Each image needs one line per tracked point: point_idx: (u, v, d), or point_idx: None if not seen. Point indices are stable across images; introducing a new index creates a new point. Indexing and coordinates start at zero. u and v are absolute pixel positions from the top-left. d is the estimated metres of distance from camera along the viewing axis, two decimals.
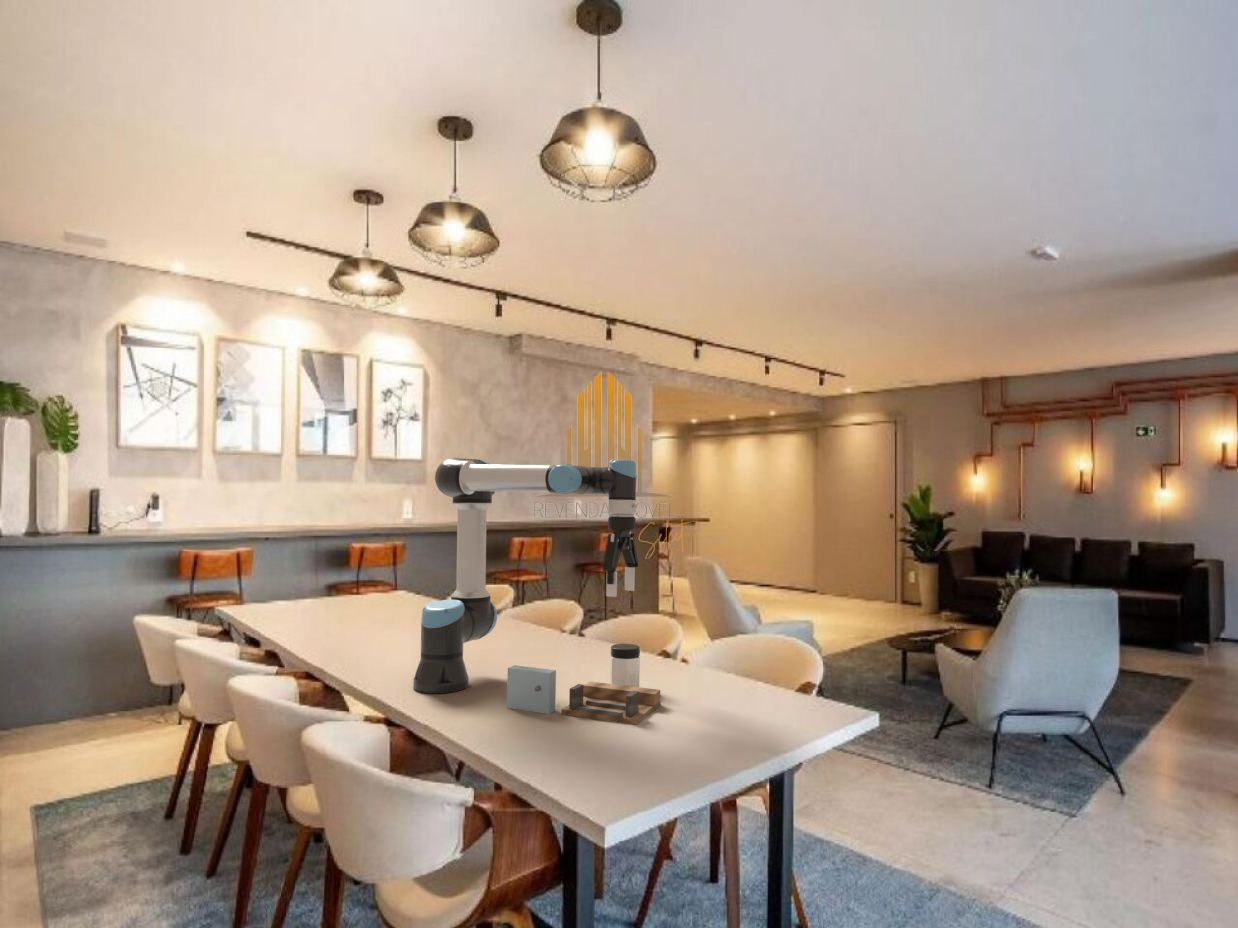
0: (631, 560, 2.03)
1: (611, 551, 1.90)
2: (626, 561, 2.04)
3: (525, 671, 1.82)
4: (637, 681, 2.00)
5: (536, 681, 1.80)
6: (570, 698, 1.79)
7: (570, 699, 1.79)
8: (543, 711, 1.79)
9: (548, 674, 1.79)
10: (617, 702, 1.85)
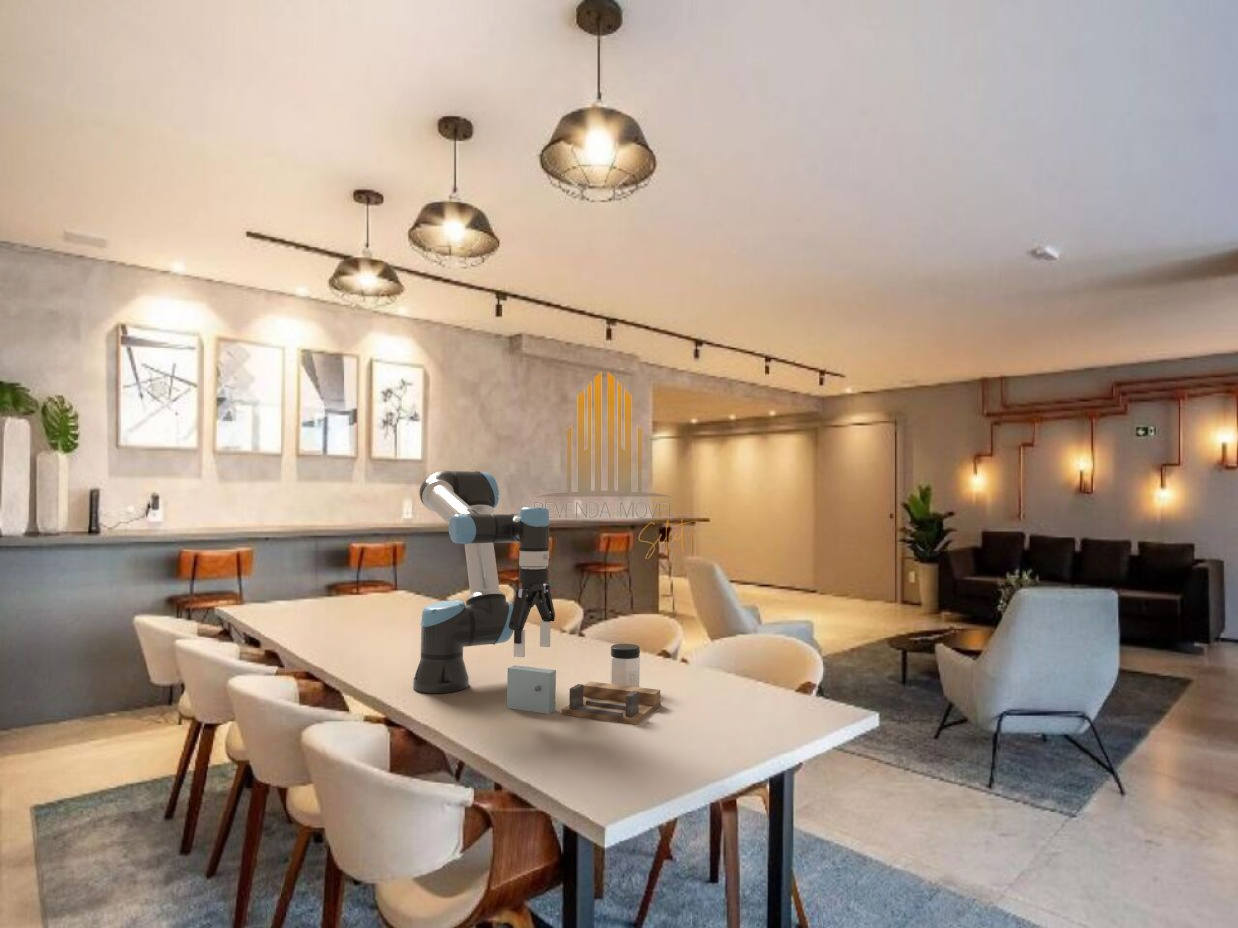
0: (546, 614, 1.89)
1: (518, 608, 1.76)
2: (541, 615, 1.89)
3: (525, 671, 1.82)
4: (637, 681, 2.00)
5: (536, 681, 1.80)
6: (570, 698, 1.79)
7: (570, 699, 1.79)
8: (543, 711, 1.79)
9: (548, 674, 1.79)
10: (617, 702, 1.85)
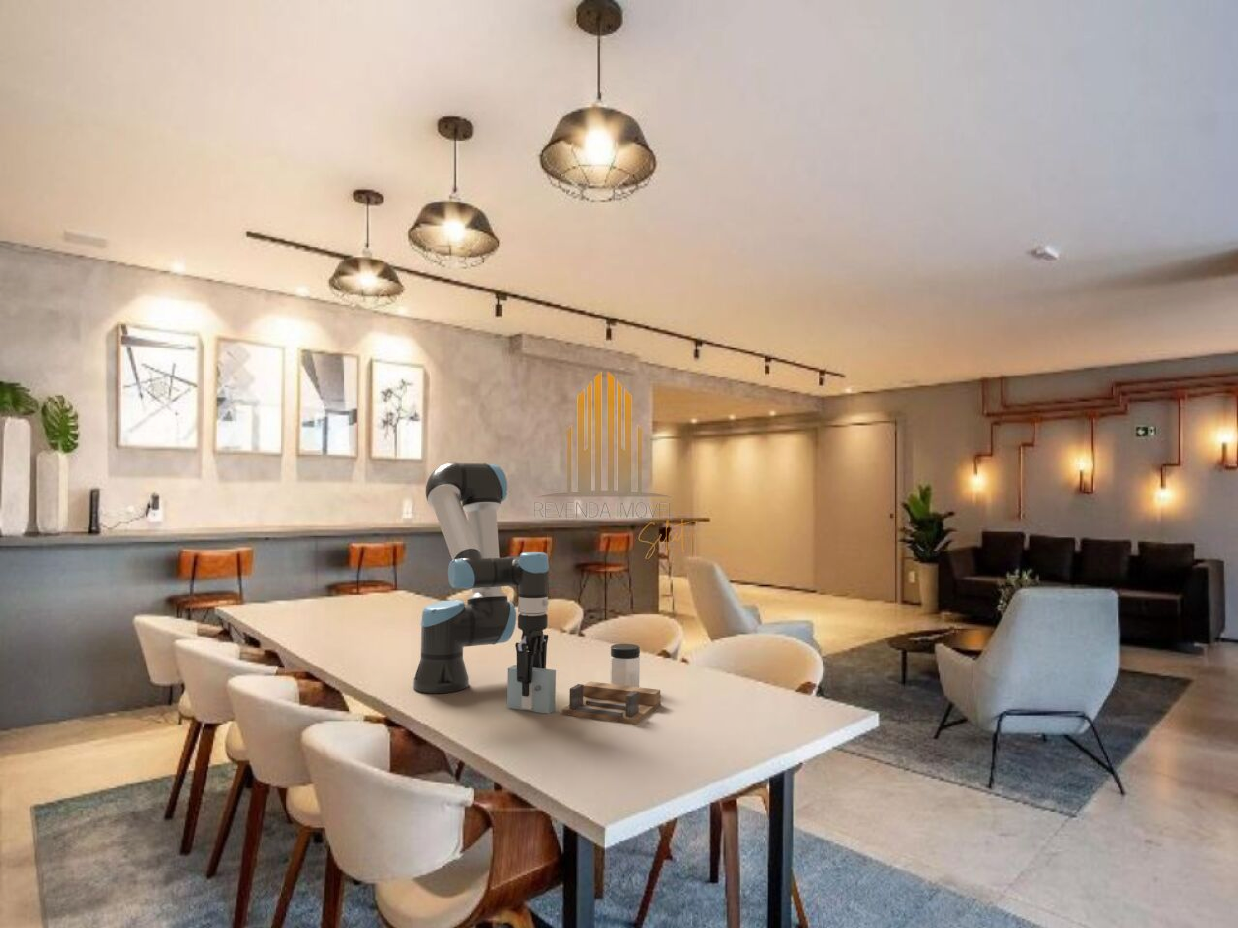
0: (538, 667, 1.85)
1: (522, 662, 1.78)
2: None
3: None
4: (637, 681, 2.00)
5: (536, 680, 1.80)
6: (570, 698, 1.79)
7: (570, 699, 1.79)
8: (543, 711, 1.79)
9: (548, 674, 1.79)
10: (617, 702, 1.85)
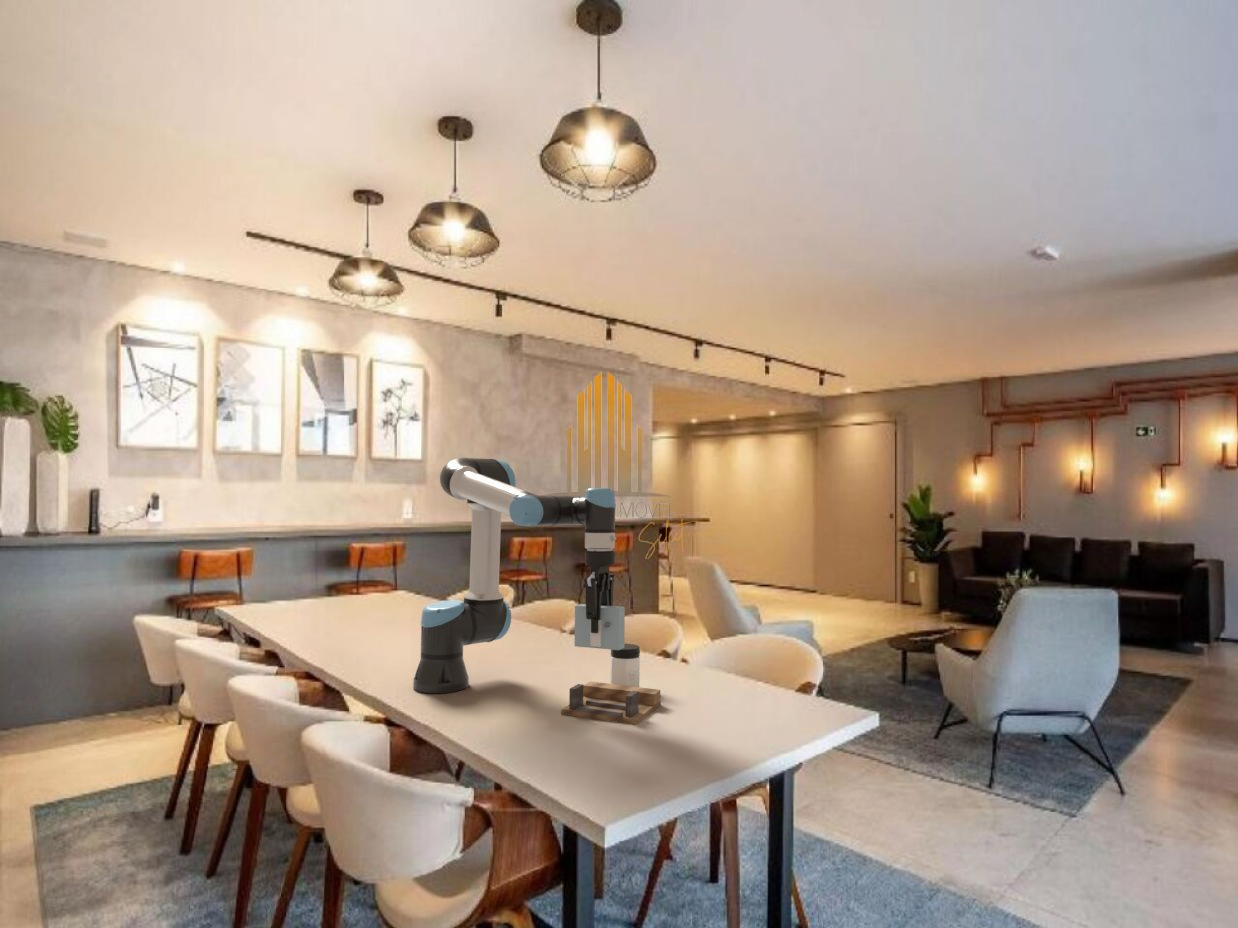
0: (606, 605, 1.81)
1: (591, 598, 1.74)
2: None
3: None
4: (637, 681, 2.00)
5: (605, 617, 1.76)
6: (570, 698, 1.79)
7: (570, 699, 1.79)
8: (613, 648, 1.75)
9: (618, 610, 1.75)
10: (617, 702, 1.85)
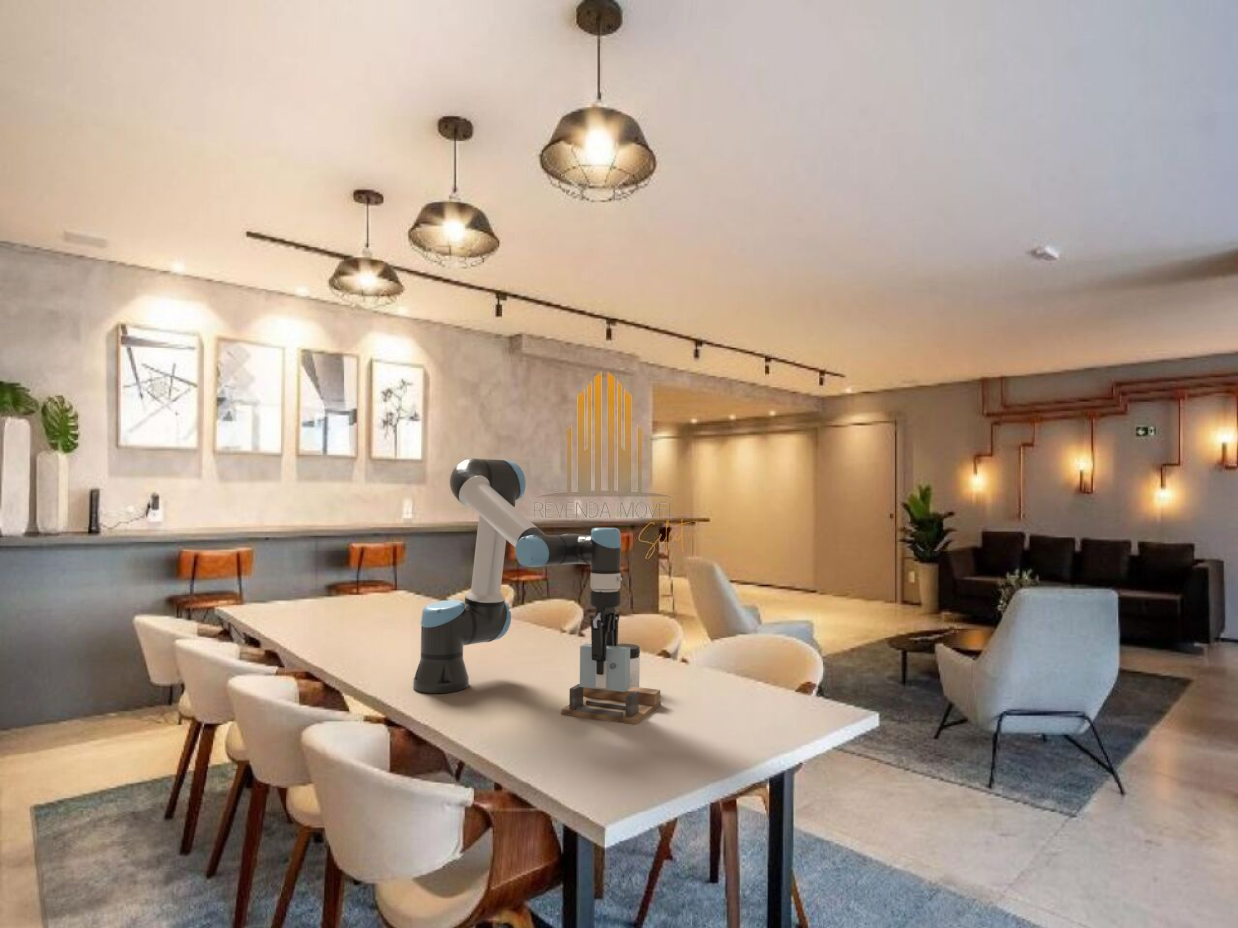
0: (611, 645, 1.80)
1: (597, 640, 1.73)
2: None
3: None
4: (637, 681, 2.00)
5: (611, 658, 1.76)
6: (570, 698, 1.79)
7: (570, 699, 1.79)
8: (618, 689, 1.75)
9: (623, 651, 1.75)
10: (617, 702, 1.85)
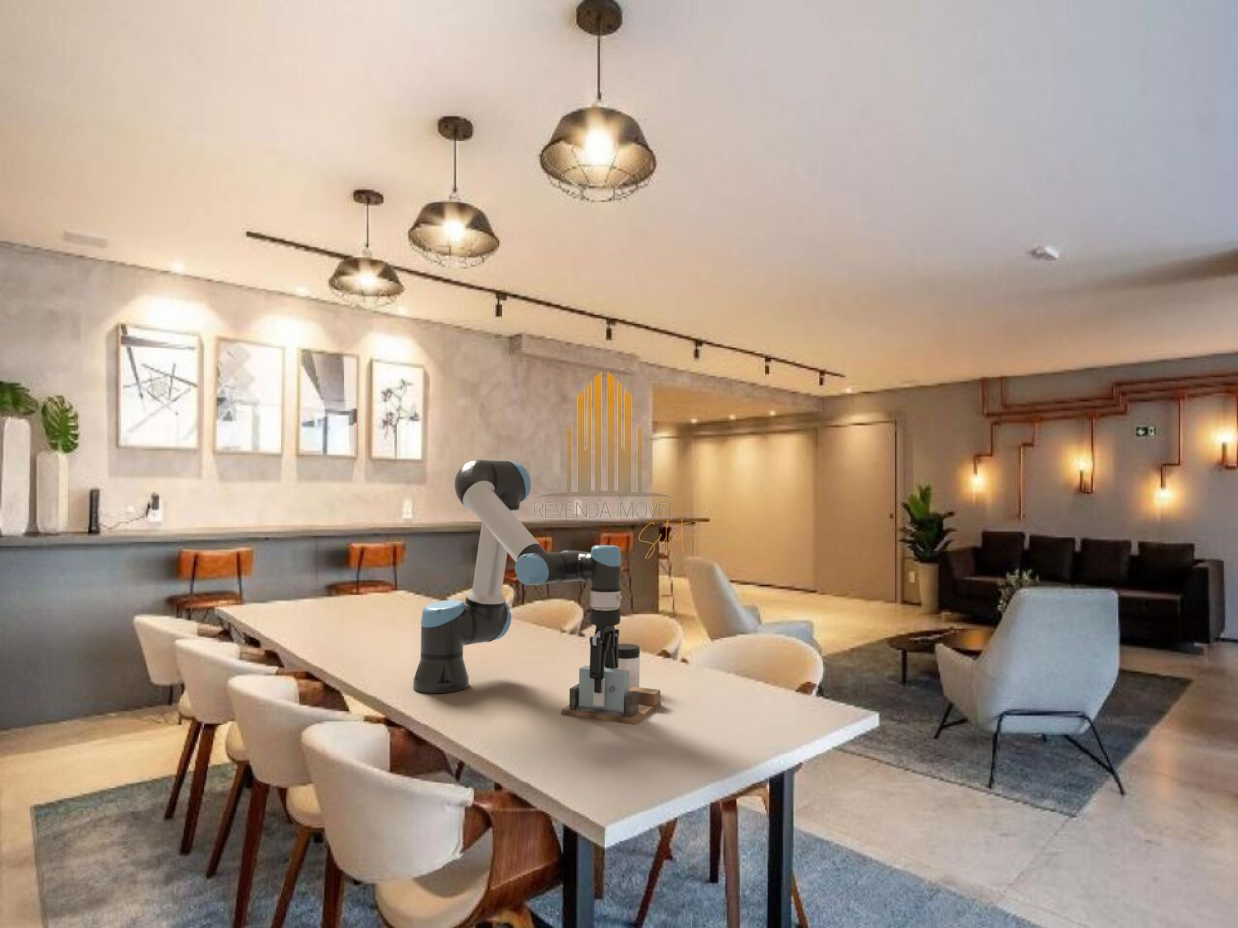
0: (611, 662, 1.81)
1: (595, 657, 1.73)
2: (606, 663, 1.81)
3: None
4: (637, 681, 2.00)
5: (610, 681, 1.76)
6: (570, 698, 1.79)
7: (570, 699, 1.79)
8: None
9: (623, 674, 1.75)
10: None
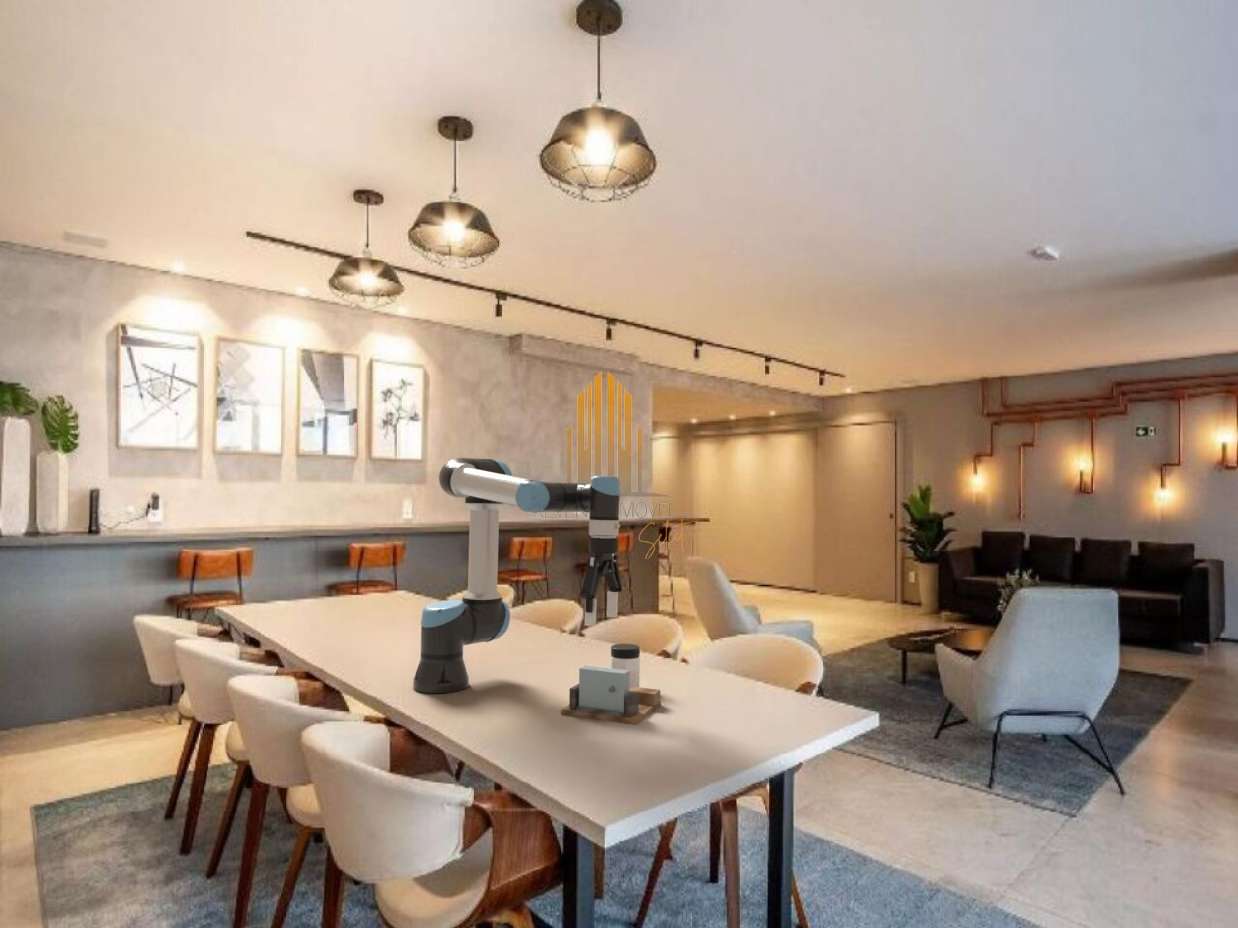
0: (614, 584, 1.87)
1: (590, 576, 1.74)
2: (609, 585, 1.88)
3: (598, 671, 1.77)
4: (637, 681, 2.00)
5: (610, 681, 1.76)
6: (570, 698, 1.79)
7: (570, 699, 1.79)
8: None
9: (623, 674, 1.75)
10: None
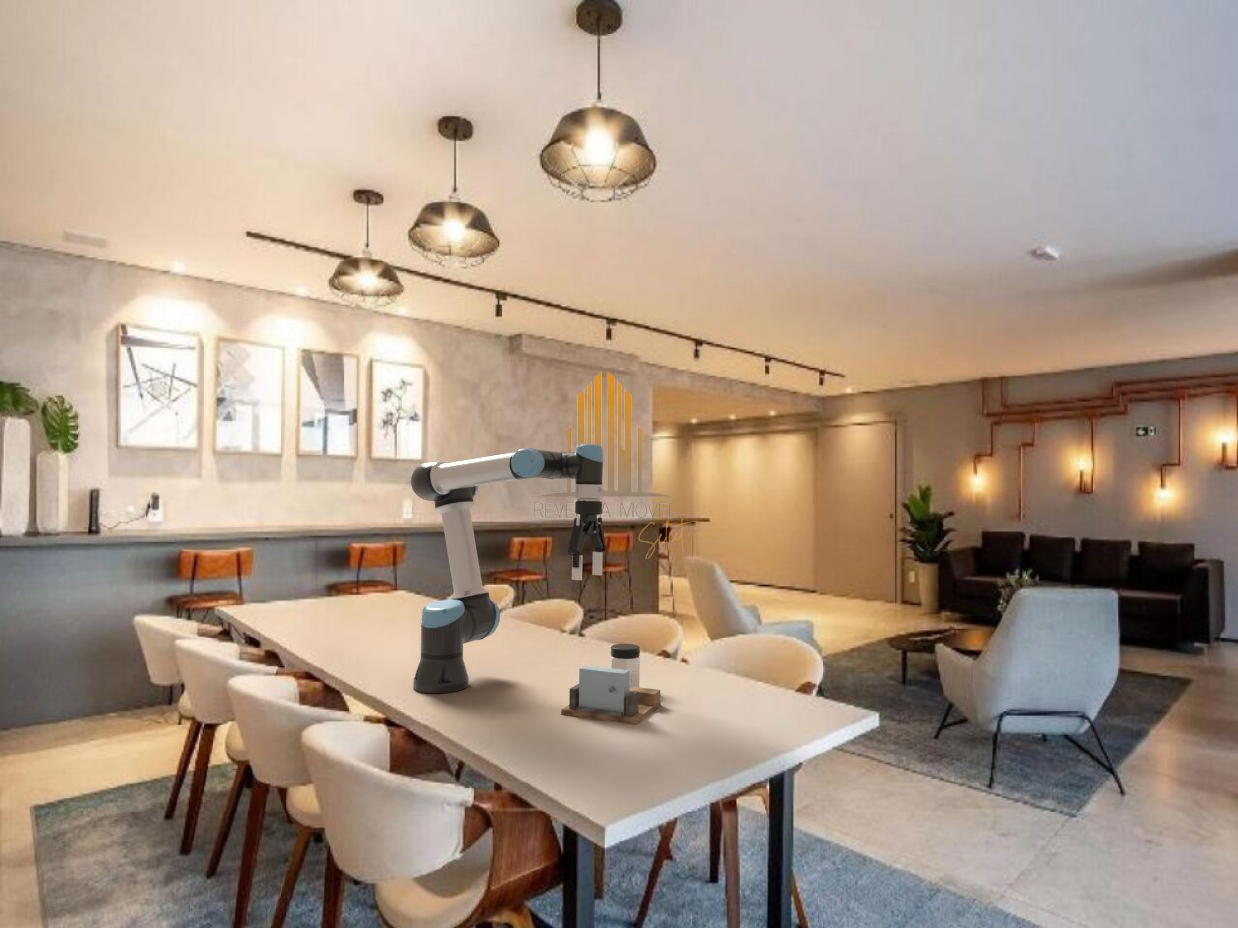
0: (599, 545, 2.04)
1: (576, 535, 1.91)
2: (594, 546, 2.04)
3: (598, 671, 1.77)
4: (637, 681, 2.00)
5: (610, 681, 1.76)
6: (570, 698, 1.79)
7: (570, 699, 1.79)
8: None
9: (623, 674, 1.75)
10: None
